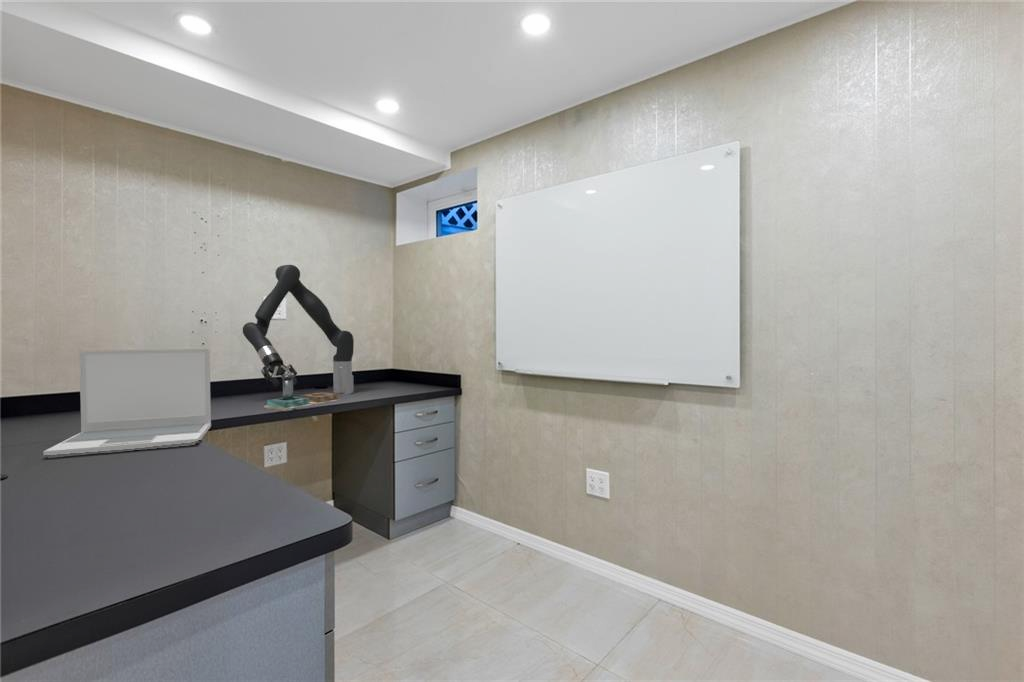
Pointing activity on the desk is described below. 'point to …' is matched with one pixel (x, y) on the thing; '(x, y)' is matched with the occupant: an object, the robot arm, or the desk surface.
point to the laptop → (141, 399)
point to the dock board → (300, 401)
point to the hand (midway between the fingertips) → (286, 384)
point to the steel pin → (287, 387)
